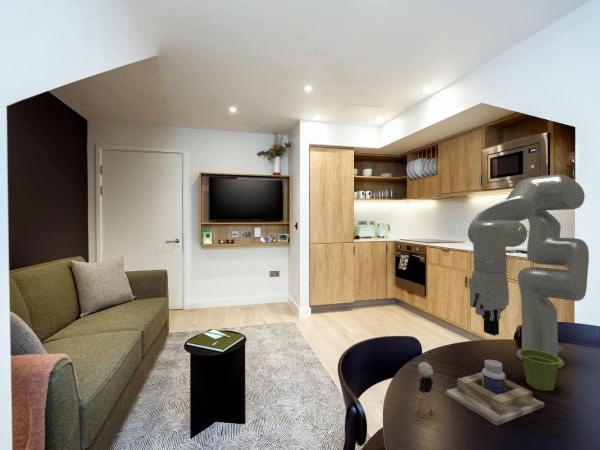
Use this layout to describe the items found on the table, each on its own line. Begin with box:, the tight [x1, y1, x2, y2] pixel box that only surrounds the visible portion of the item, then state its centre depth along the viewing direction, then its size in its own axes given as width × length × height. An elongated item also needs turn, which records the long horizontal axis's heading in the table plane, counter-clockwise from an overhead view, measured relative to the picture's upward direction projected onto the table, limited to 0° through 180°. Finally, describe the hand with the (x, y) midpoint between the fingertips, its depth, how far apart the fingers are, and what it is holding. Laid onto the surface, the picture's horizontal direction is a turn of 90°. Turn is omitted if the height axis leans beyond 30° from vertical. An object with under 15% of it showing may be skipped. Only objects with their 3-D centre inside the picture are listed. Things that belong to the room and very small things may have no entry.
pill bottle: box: [481, 359, 507, 395], centre depth 79 cm, size 5×5×9 cm
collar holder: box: [445, 371, 545, 426], centre depth 79 cm, size 18×14×4 cm
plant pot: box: [519, 349, 562, 392], centre depth 85 cm, size 9×9×9 cm
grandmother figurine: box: [416, 361, 436, 420], centre depth 73 cm, size 8×4×13 cm, turn 145°
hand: (491, 333), depth 82 cm, fingers closed
